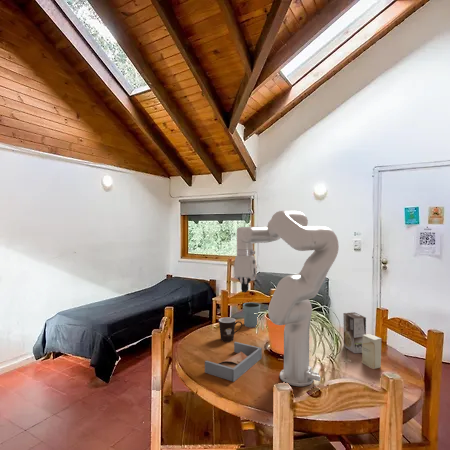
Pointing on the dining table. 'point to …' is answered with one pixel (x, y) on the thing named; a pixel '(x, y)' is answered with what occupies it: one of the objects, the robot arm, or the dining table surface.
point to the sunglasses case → (234, 360)
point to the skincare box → (371, 351)
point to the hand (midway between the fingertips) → (244, 291)
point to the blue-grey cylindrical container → (251, 314)
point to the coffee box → (354, 331)
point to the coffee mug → (227, 328)
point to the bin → (238, 370)
